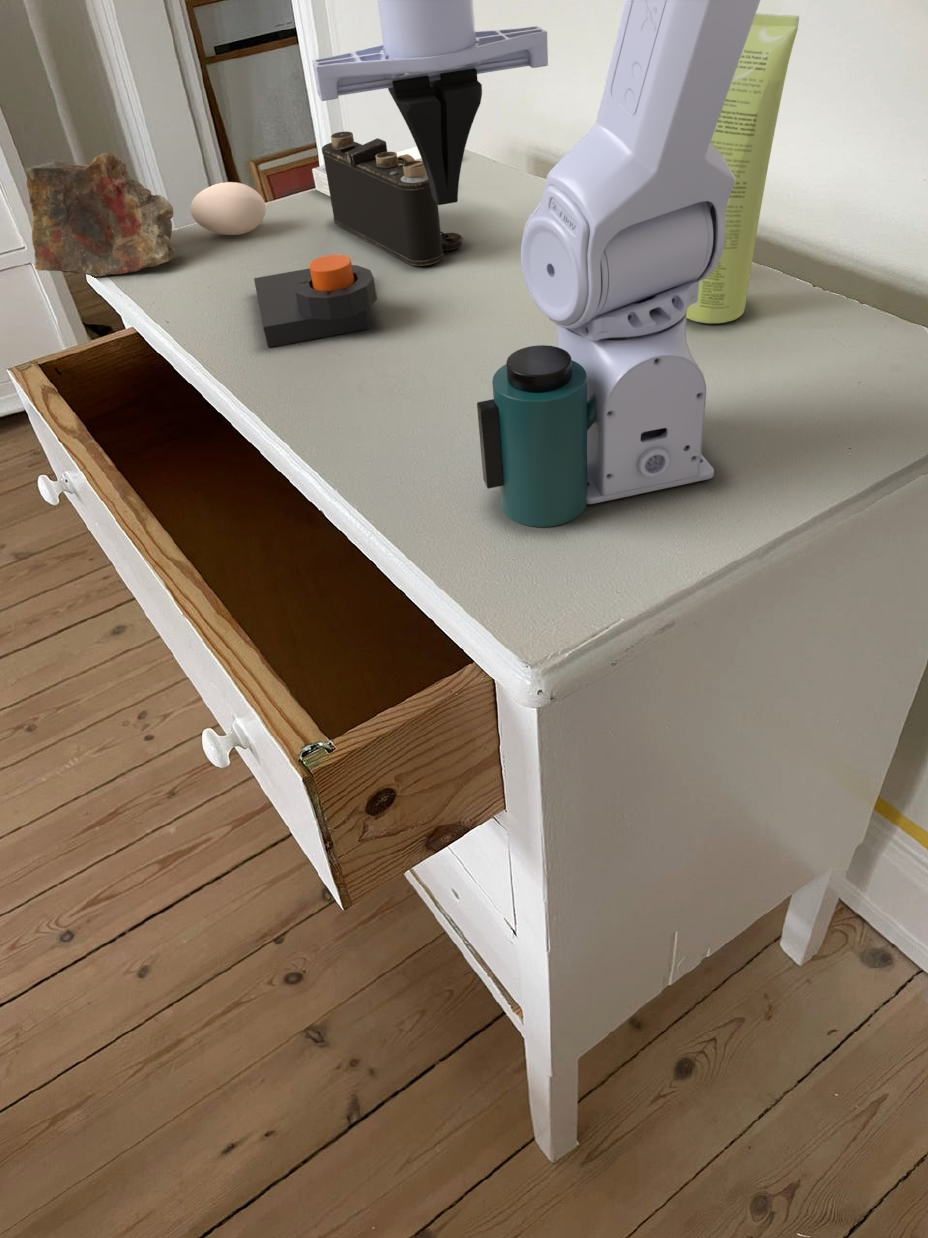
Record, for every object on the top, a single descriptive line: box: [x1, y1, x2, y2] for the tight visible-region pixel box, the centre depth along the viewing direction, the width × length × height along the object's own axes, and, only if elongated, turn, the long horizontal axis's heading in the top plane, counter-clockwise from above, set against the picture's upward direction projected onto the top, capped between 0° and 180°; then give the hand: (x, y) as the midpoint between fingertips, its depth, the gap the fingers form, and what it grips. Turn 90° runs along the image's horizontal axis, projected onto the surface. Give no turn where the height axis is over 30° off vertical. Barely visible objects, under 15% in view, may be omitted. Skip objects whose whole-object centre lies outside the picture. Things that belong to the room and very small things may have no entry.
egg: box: [190, 181, 267, 236], centre depth 93 cm, size 5×5×7 cm
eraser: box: [396, 146, 422, 161], centre depth 105 cm, size 1×5×4 cm
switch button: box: [308, 254, 354, 291], centre depth 74 cm, size 3×3×2 cm
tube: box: [686, 12, 800, 324], centre depth 66 cm, size 6×5×20 cm
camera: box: [321, 131, 464, 267], centre depth 87 cm, size 16×7×8 cm, turn 34°
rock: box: [26, 152, 176, 277], centre depth 89 cm, size 12×12×10 cm
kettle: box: [476, 344, 597, 528], centre depth 54 cm, size 5×8×9 cm, turn 103°
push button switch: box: [253, 264, 378, 348], centre depth 78 cm, size 11×9×4 cm
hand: (444, 199), depth 66 cm, fingers closed
